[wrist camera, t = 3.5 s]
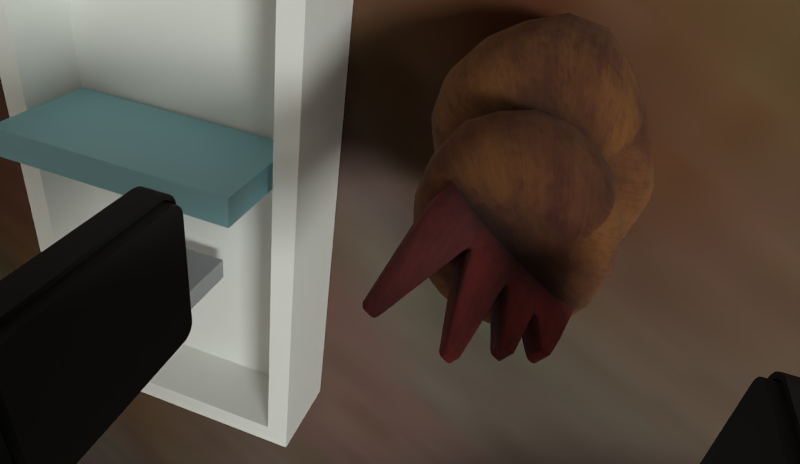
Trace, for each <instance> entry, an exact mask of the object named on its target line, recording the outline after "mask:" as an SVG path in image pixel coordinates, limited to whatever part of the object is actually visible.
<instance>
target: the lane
mask: <svg viewBox="0 0 800 464" xmlns="http://www.w3.org/2000/svg"><path fill="white" fill-rule="evenodd" d="M352 10H353V0H0V78H1V82H2V86H3V91H4V95H5V99H6V104H7V108H8V112H9V117H12V116H15V115H17V114H20V113H22V112H25V111H27V110H29V109H32V108H34V107H37V106H39V105H42V104H44V103H47V102H49V101H51V100H54V99H56V98H59V97H61V96H64V95H66V94H69V93H71V92H73V91H76V90H78V89H81V88H83V87H84V88H88V89H91V90H95V91H99V92H102V93H106V94H109V95H113V96H117V97H120V98H124V99H127V100H131V101H135V102H138V103H142V104H145V105H149V106H153V107H156V108H160V109H164V110H167V111H171V112H174V113H178V114H182V115H185V116H189V117H192V118H196V119H200V120H203V121H207V122H210V123H214V124H218V125H221V126H225V127H229V128H232V129H236V130H239V131H243V132H247V133H250V134H254V135H257V136H261V137H265V138H268V139H272V140H273V189H272V190H271V191H270V192H269V193H268V194H267V195H265V196H264V197H263V198H262V199H261V200H260V201H259V202H258V203H256V204H255V205H254V206H253V207H252V208H251V209H250V210H249V211H247V212H246V213H245V214H244V215H243V216H242V217H241V218H240V219H239V220H237V221H236V222H235V223H234V224H233V225H232V226H231V227H230V228H226V227H223V226H220V225H217V224H213V223H210V222H207V221H204V220H201V219H198V218H194V217H191V216H188V215H185V214H183V218H184V230H185V241H186V248H188V249H191V250H194V251H197V252H200V253H203V254H206V255H209V256H212V257H215V258H218V259H221V260H223V278H222V279H221V280H220V281H219V282H218V283H217V284H216V285H215V286H214V287H213V288H212V289H211V290H210V291H209V292H208V293H207V294H206V295H205V296H204V297H203V298H202V299H201V300H200V301H199V302H198V303H197V304H196V305H195V306H194V307H193V308H192V309H191V313H192V327H191V331H190V333H189V336H188V337H187V339H186V341H185V342H184V343H183V344H182V345H181V347H180V348H179V349H178V350H177V351H176V352H175V353H174V354H173V356H172V357H171V358H170V359H169V360H168V361H167V362H166V363H165V365H164V366H163V367H162V368H161V369H160V370H159V371H158V372H157V374H156V375H155V376H154V377H153V378H152V379H151V380H150V381H149V383H148V384H147V385H146V386H145V387H144V388H143V389H142V390H141V392H144V393H146V394H149V395H151V396H154V397H156V398H159V399H162V400H164V401H167V402H169V403H172V404H175V405H177V406H180V407H182V408H185V409H188V410H190V411H193V412H195V413H198V414H201V415H203V416H206V417H208V418H211V419H214V420H216V421H219V422H221V423H224V424H227V425H229V426H232V427H234V428H237V429H240V430H242V431H245V432H247V433H250V434H253V435H255V436H258V437H260V438H263V439H266V440H268V441H271V442H273V443H276V444H279V445H281V446H284V447H286V446H287V445H288V443H289V441H290V440H291V438H292V436H293V435H294V433H295V431H296V430H297V428H298V426H299V425H300V423H301V422H302V420H303V418H304V417H305V415H306V413H307V412H308V410H309V408H310V407H311V405H312V403H313V402H314V400H315V398H316V397H317V395H318V393H319V392H320V386H321V374H322V362H323V351H324V339H325V327H326V315H327V304H328V292H329V280H330V268H331V257H332V245H333V233H334V222H335V210H336V198H337V186H338V175H339V163H340V151H341V139H342V128H343V116H344V104H345V93H346V81H347V69H348V57H349V46H350V34H351V22H352ZM20 164H21V168H22V173H23V177H24V181H25V186H26V190H27V194H28V199H29V203H30V207H31V212H32V216H33V220H34V225H35V229H36V233H37V237H38V242H39V246H40V250H41V252H42V251H44V250H45V249H47V248H48V247H50V246H51V245H52V244H54V243H55V242H57V241H58V240H60V239H61V238H62V237H64V236H65V235H67V234H68V233H70V232H71V231H72V230H74V229H75V228H77V227H78V226H80V225H81V224H83V223H84V222H85V221H87V220H88V219H90V218H91V217H93V216H94V215H95V214H97V213H98V212H100V211H101V210H103V209H104V208H105V207H107V206H108V205H110V204H111V203H113V202H114V201H116V200H117V199H118V198H120V197H121V196H123V195H121V194H118V193H115V192H111V191H108V190H105V189H102V188H99V187H95V186H92V185H89V184H86V183H83V182H79V181H76V180H73V179H70V178H67V177H64V176H60V175H57V174H54V173H51V172H48V171H44V170H41V169H38V168H35V167H32V166H28V165H25V164H22V163H20Z"/></svg>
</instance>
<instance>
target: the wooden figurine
mask: <svg viewBox="0 0 800 464" xmlns="http://www.w3.org/2000/svg"><path fill="white" fill-rule="evenodd" d="M431 123H432V136H433V145H434V153H433V155H432V157H431V159H430V160H429V162H428V164H427V166H426V168H425V171H424V173H423V176H422V178H421V181H420V183H419V186H418V188H417V191H416V194H415V202H414V224H413V225H412V227H411V228H410V230H409V231H408V233H407V234H406V236H405V237H404V239H403V241H402V242H401V244H400V245H399V247H398V248H397V250H396V251H395V253H394V254H393V256H392V258H391V259H390V261H389V262H388V264H387V265H386V267H385V268H384V270H383V272H382V273H381V275H380V276H379V278H378V279H377V281H376V282H375V284H374V286H373V287H372V289H371V290H370V292H369V293H368V295H367V296H366V298H365V300H364V301H363V308H364V310H365V311H366V312H367V313H368V314H369V315H370V316H371V317H374V318H375V317H378V316H379V315H380V314H382V313H383V312H384V311H386V310H387V309H388V308H390V307H391V306H392V305H394V304H395V303H396V302H397V301H399V300H400V299H401V298H403V297H404V296H405V295H406V294H408V293H409V292H410V291H412V290H413V289H414V288H416V287H417V286H418V285H419V284H421V283H422V282H423V281H425V280H426V279H427V278H428V277H429V278H430V280H431V281H432V282H433V284H434V285H435V286H436V288H437V289H438V291H439V292H440V293H441V294H442V295H443V296H444V297H445V298H447V299H448V300H447V307H446V313H445V319H444V325H443V331H442V338H441V344H440V350H439V352H440V355H441V357H442V358H443V359H444V360H445V361H446V362H447V363H451V362H453V361H455V360H456V359H458V358H459V357H460V356H461V354H462V352H463V351H464V349H465V348H466V346H467V344H468V343H469V341H470V340H471V338H472V336H473V335H474V333H475V332H476V330H477V328H478V327H479V325H480V324H481V322H482V320H483V321H486V322H488V323H491V342H490V350H491V354H492V355H493V356H494V357H495V358H496V359H497V360H498V361H501V360H502V359H504V358H506V357H508V356H509V355H511V354H513V353H514V351H515V349H516V347H517V345H518V343H519V341H520V339H521V337H522V340H523V344H524V349H525V353H526V356H527V358H528V360H529V361H530V362H532V363H536V362H538V361H540V360H542V359H544V358H545V357H547V356H549V355H550V354H551V352H552V351H553V349H554V347H555V346H556V344H557V342H558V341H559V339H560V337H561V335H562V333H563V331H564V329H565V327H566V325H567V323H568V320H569V318H570V316H572V315H573V314H575V313H577V312H578V311H580V310H581V309H583V308H584V307H586V306H587V305H588V304H589V303H590V302H591V300H592V299H593V298H594V297H595V296H596V294H597V293H598V291H599V290H600V288H601V287H602V285H603V284H604V282H605V281H606V279H607V278H608V276H609V275H610V273H611V272H612V270H613V267H614V262H615V257H616V252H617V247H618V242H619V241H620V240H622V239H623V238H624V237H625V236H626V235H627V234H628V233H629V232H630V230H631V228H632V227H633V225H634V224H635V222H636V221H637V219H638V218H639V216H640V214H641V213H642V211H643V210H644V208H645V207H646V205H647V203H648V202H649V200H650V197H651V194H652V192H653V189H654V186H655V182H654V161H653V143H652V132H651V128H650V124H649V120H648V116H647V112H646V108H645V104H644V99H643V97H642V94H641V91H640V89H639V86H638V84H637V81H636V79H635V76H634V73H633V71H632V68H631V66H630V63H629V61H628V59H627V57H626V55H625V54H624V52H623V51H622V49H621V47H620V46H619V44H618V43H617V41H616V39H615V38H614V36H613V35H612V33H611V31H610V30H609V28H606V27H603V26H601V25H598V24H596V23H593V22H591V21H588V20H586V19H583V18H580V17H578V16H575V15H573V14H570V13H567V14H561V15H555V16H549V17H543V18H537V19H531V20H526V21H524V22H521V23H519V24H516V25H514V26H512V27H509V28H507V29H504V30H502V31H500V32H497V33H495V34H492V35H490V36H488V37H487V38H486V39H484V40H483V41H481V42H480V43H479V44H478V45H477V46H476V47H475V48H474V49H472V50H471V51H470V52H469V53H468V54H467V55H466V56H465V57H464V58H462V59H461V60H460V61H459V62H458V63H457V64H456V65H455V66H453V67H452V68H451V70H450V71H449V73H448V74H447V76H446V77H445V79H444V81H443V84H442V87H441V89H440V92H439V95H438V98H437V101H436V103H435V106H434V109H433V112H432V114H431Z"/></svg>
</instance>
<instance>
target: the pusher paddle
mask: <svg viewBox="0 0 800 464" xmlns="http://www.w3.org/2000/svg"><path fill="white" fill-rule="evenodd" d="M0 157H3V158H6V159H9V160H13V161H16V162H19V163H22V164H25V165H28V166H32V167H35V168H38V169H41V170H44V171H48V172H51V173H54V174H57V175H60V176H64V177H67V178H70V179H73V180H76V181H79V182H83V183H86V184H89V185H92V186H95V187H99V188H102V189H105V190H108V191H111V192H115V193H118V194H121V195H124V194H126V193H127V192H128V191H130V190H131V189H133V188H135V187H137V186H143V187H146V188H150V189H153V190H156V191H160V192H163V193H167V194H170V195H171V196H173V197H174V199H175V200H176V205H178V206H180V207H181V209H182V211H183V214H185V215H188V216H191V217H194V218H198V219H201V220H204V221H207V222H210V223H213V224H217V225H220V226H223V227H226V228H230V227H231V226H232V225H233V224H234V223H235V222H236V221H237V220H239V219H240V218H241V217H242V216H243V215H244V214H245V213H246V212H247V211H249V210H250V209H251V208H252V207H253V206H254V205H255V204H256V203H258V202H259V201H260V200H261V199H262V198H263V197H264V196H265V195H267V194H268V193H269V192H270V191H271V190H272V189H273V140H272V139H268V138H265V137H261V136H257V135H254V134H250V133H247V132H243V131H239V130H236V129H232V128H229V127H225V126H221V125H218V124H214V123H210V122H207V121H203V120H200V119H196V118H192V117H189V116H185V115H182V114H178V113H174V112H171V111H167V110H164V109H160V108H156V107H153V106H149V105H145V104H142V103H138V102H135V101H131V100H127V99H124V98H120V97H117V96H113V95H109V94H106V93H102V92H99V91H95V90H91V89H88V88H84V87H83V88H81V89H78V90H76V91H73V92H71V93H69V94H66V95H64V96H61V97H59V98H56V99H54V100H51V101H49V102H47V103H44V104H42V105H39V106H37V107H34V108H32V109H29V110H27V111H25V112H22V113H20V114H17V115H15V116H12V117H10V118H7V119H5V120H3V121H0ZM186 253H187V265H188V277H189V289H190V301H191V309H192V308H193V307H194V306H195V305H196V304H197V303H198V302H199V301H200V300H201V299H202V298H203V297H204V296H205V295H206V294H207V293H208V292H209V291H210V290H211V289H212V288H213V287H214V286H215V285H216V284H217V283H218V282H219V281H220V280H221V279H222V278H223V260H221V259H218V258H215V257H212V256H209V255H206V254H203V253H200V252H197V251H194V250H191V249H188V248H186Z"/></svg>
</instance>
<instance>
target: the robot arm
mask: <svg viewBox="0 0 800 464" xmlns="http://www.w3.org/2000/svg"><path fill="white" fill-rule="evenodd" d="M191 327H192V313H191V301H190V289H189V277H188V265H187V253H186V241H185V230H184V218H183V211H182V209H181V207H180V206H178V205H176V200H175V199H174V197H173V196H171V195H170V194H167V193H163V192H160V191H156V190H153V189H150V188H146V187H143V186H137V187H135V188H133V189H131V190H130V191H128V192H127V193H126V194H124V195H123V196H121V197H120V198H118V199H117V200H116V201H114V202H113V203H111V204H110V205H108V206H107V207H105V208H104V209H103V210H101V211H100V212H98V213H97V214H95V215H94V216H93V217H91V218H90V219H88V220H87V221H85V222H84V223H83V224H81V225H80V226H78V227H77V228H75V229H74V230H72V231H71V232H70V233H68V234H67V235H65V236H64V237H62V238H61V239H60V240H58V241H57V242H55V243H54V244H52V245H51V246H50V247H48V248H47V249H45V250H44V251H42V252H41V253H39V254H38V255H37V256H35V257H34V258H32V259H31V260H29V261H28V262H27V263H25V264H24V265H22V266H21V267H19V268H18V269H17V270H15V271H14V272H12V273H11V274H9V275H8V276H6V277H5V278H4V279H2V280H1V281H0V464H77V462H78V461H79V460H80V459H81V458H82V457H83V456H84V455H85V453H86V452H87V451H88V450H89V449H90V448H91V447H92V446H93V444H94V443H95V442H96V441H97V440H98V439H99V438H100V437H101V435H102V434H103V433H104V432H105V431H106V430H107V429H108V428H109V426H110V425H111V424H112V423H113V422H114V421H115V420H116V419H117V417H118V416H119V415H120V414H121V413H122V412H123V411H124V410H125V408H126V407H127V406H128V405H129V404H130V403H131V402H132V401H133V399H134V398H135V397H136V396H137V395H138V394H139V393H140V392H141V390H142V389H143V388H144V387H145V386H146V385H147V384H148V383H149V381H150V380H151V379H152V378H153V377H154V376H155V375H156V374H157V372H158V371H159V370H160V369H161V368H162V367H163V366H164V365H165V363H166V362H167V361H168V360H169V359H170V358H171V357H172V356H173V354H174V353H175V352H176V351H177V350H178V349H179V348H180V347H181V345H182V344H183V343H184V342H185V341H186V339H187V337H188V336H189V333H190V331H191ZM700 464H800V377H796V376H793V375H790V374H786V373H783V372H774V373H773V374H771V375H770V376H769V377H768V379H767V378H764V377H758V378H756V379H755V380H754V381H753V382H752V384H751V385H750V387H749V388H748V390H747V392H746V393H745V395H744V396H743V398H742V399H741V401H740V402H739V404H738V405H737V407H736V409H735V410H734V412H733V413H732V415H731V416H730V418H729V419H728V421H727V423H726V424H725V426H724V427H723V429H722V430H721V432H720V433H719V435H718V437H717V438H716V440H715V441H714V443H713V444H712V446H711V447H710V449H709V450H708V452H707V454H706V455H705V457H704V458H703V460H702V461H701V463H700Z"/></svg>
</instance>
